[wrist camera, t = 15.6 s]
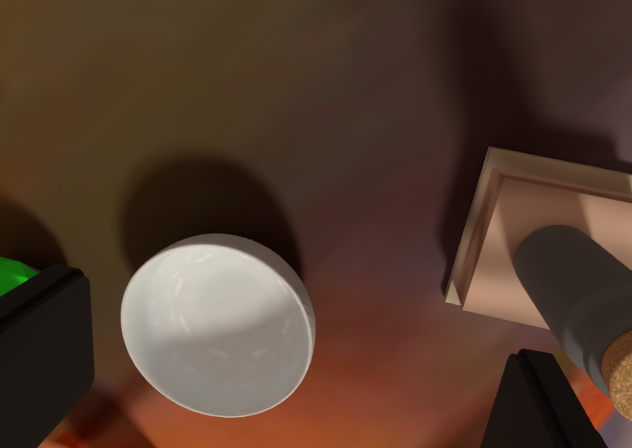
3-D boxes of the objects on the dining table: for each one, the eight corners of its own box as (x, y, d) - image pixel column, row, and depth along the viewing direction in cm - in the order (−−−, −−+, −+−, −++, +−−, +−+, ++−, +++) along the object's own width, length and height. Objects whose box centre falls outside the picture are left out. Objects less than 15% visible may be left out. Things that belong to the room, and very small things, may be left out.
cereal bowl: (310, 209, 42) (296, 235, 35) (333, 368, 47) (325, 417, 40) (137, 225, 45) (94, 252, 38) (176, 373, 50) (143, 420, 43)
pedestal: (488, 146, 38) (503, 156, 33) (640, 175, 37) (677, 190, 33) (443, 296, 43) (451, 324, 38) (577, 326, 42) (602, 358, 37)
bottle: (545, 209, 34) (658, 306, 20) (613, 249, 34) (772, 372, 20) (497, 271, 36) (568, 399, 22) (561, 308, 36) (673, 459, 22)
